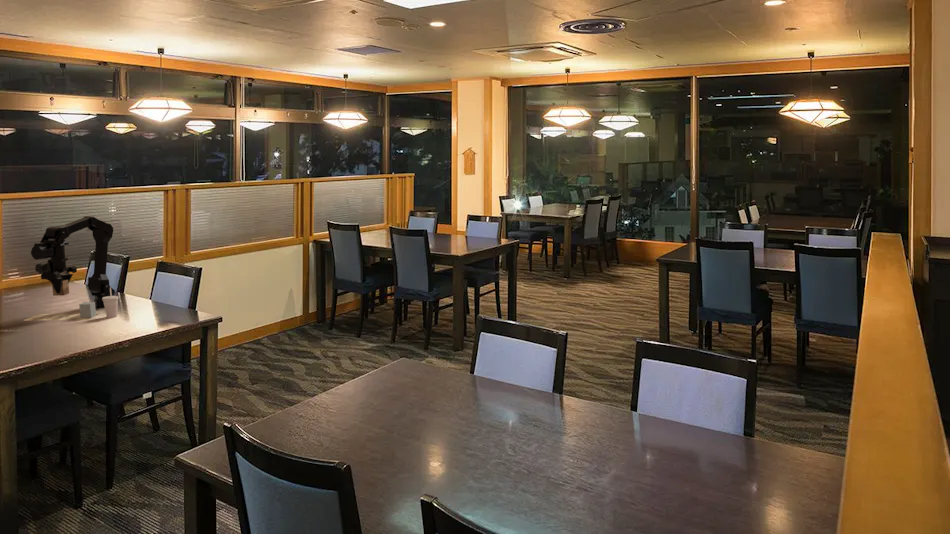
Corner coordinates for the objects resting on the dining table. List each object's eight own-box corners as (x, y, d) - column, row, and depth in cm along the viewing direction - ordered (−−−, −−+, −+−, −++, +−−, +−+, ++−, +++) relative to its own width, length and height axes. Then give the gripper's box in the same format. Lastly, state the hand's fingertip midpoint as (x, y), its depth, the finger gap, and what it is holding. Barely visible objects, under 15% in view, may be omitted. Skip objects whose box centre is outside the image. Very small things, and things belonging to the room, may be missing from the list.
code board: (100, 315, 317) (100, 313, 317) (87, 322, 306) (87, 319, 305) (37, 316, 316) (37, 314, 316) (22, 322, 304) (22, 320, 304)
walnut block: (69, 293, 311) (68, 279, 310) (63, 295, 307) (62, 281, 306) (58, 293, 311) (57, 279, 310) (53, 295, 307) (51, 281, 306)
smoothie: (123, 317, 314) (120, 286, 312) (114, 321, 308) (112, 289, 306) (109, 317, 315) (106, 285, 312) (100, 320, 308) (97, 288, 306)
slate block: (96, 315, 314) (94, 302, 313) (91, 317, 309) (90, 304, 308) (85, 315, 313) (84, 302, 312) (80, 317, 309) (79, 304, 308)
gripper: (49, 253, 315) (53, 288, 318) (26, 259, 297) (29, 296, 299) (75, 253, 316) (79, 288, 318) (53, 259, 297) (57, 296, 300)
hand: (61, 292), depth 309 cm, fingers closed on walnut block, 4 cm apart
